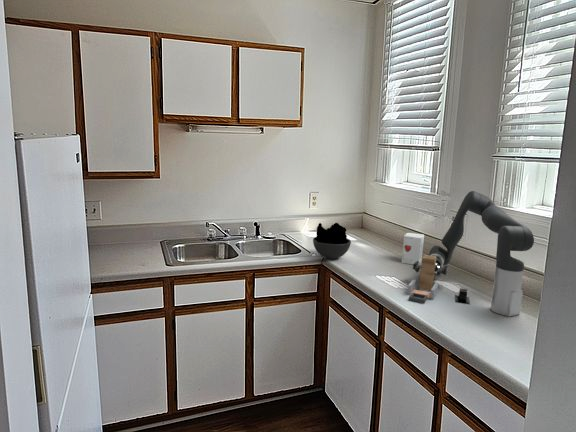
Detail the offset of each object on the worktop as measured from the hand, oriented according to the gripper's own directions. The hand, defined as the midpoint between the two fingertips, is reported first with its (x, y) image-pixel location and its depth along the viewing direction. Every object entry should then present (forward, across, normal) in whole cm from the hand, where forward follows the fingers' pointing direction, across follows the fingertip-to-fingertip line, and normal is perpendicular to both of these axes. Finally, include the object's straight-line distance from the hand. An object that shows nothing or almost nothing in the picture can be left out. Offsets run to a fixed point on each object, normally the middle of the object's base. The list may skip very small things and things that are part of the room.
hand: (427, 272), depth 182 cm
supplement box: (-38, -15, +8) cm, 42 cm away
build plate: (+4, +15, +8) cm, 18 cm away
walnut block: (-2, 0, +8) cm, 8 cm away
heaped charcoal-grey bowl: (-20, -53, +8) cm, 57 cm away
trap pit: (+15, 0, +8) cm, 17 cm away
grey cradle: (+7, 0, +8) cm, 10 cm away
